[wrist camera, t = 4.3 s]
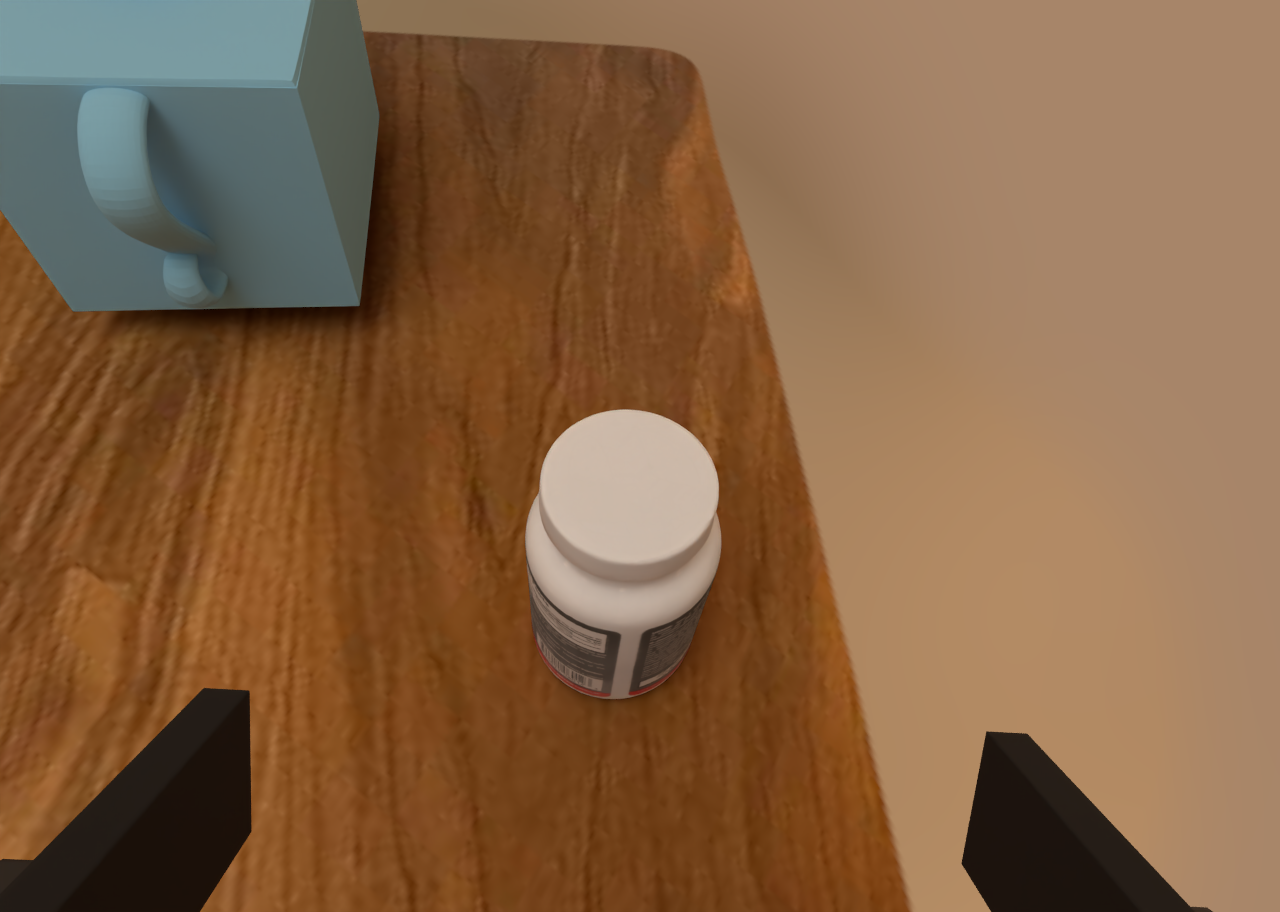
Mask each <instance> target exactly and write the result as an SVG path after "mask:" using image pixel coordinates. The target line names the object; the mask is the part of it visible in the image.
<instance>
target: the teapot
mask: <svg viewBox="0 0 1280 912" xmlns="http://www.w3.org/2000/svg"><path fill="white" fill-rule="evenodd" d="M378 126H379V110H378V105H377V100H376V95H375V90H374V85H373V80H372V75H371V71H370V66H369V61H368V56H367V51H366V46H365V41H364V36H363V31H362V26H361V21H360V16H359V11H358V6H357V1H356V0H0V210H1V211H2V213H3V214H4V216H5V217H6V218H7V220H8V221H9V223H10V224H11V225H12V227H13V228H14V230H15V231H16V232H17V234H18V235H19V237H20V238H21V239H22V241H23V242H24V244H25V245H26V246H27V248H28V249H29V251H30V252H31V253H32V255H33V256H34V258H35V259H36V260H37V262H38V263H39V265H40V266H41V267H42V269H43V270H44V272H45V273H46V274H47V276H48V277H49V279H50V280H51V281H52V283H53V284H54V286H55V287H56V288H57V290H58V291H59V293H60V294H61V295H62V297H63V298H64V300H65V301H66V302H67V304H68V305H69V307H70V308H71V309H72V311H124V310H171V309H227V308H276V307H331V306H360V299H361V290H362V280H363V271H364V262H365V252H366V243H367V233H368V224H369V215H370V205H371V195H372V186H373V176H374V166H375V156H376V146H377V136H378Z"/></svg>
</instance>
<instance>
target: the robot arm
mask: <svg viewBox="0 0 1280 912" xmlns="http://www.w3.org/2000/svg"><path fill="white" fill-rule="evenodd" d="M250 833H251V766H250V694H249V691H246V690H228V689H210V688H204V689H203V690H202V691H201V692H200V693H199V694H198V695H197V696H196V697H195V698H194V699H193V700H192V701H191V702H190V703H189V704H188V705H187V706H186V707H185V708H184V709H183V710H182V711H181V712H180V713H179V714H178V715H177V716H176V717H175V718H174V719H173V720H172V721H171V722H170V723H169V724H168V725H167V726H166V727H165V728H164V729H163V730H162V731H161V732H160V733H159V734H158V735H157V736H156V737H155V738H154V739H153V740H152V741H151V742H150V743H149V744H148V745H147V746H146V747H145V748H144V749H143V750H142V751H141V752H140V753H139V754H138V755H137V756H136V757H135V758H134V759H133V760H132V761H131V762H130V763H129V764H128V765H127V766H126V767H125V768H124V769H123V770H122V771H121V772H120V773H119V774H118V775H117V776H116V777H115V778H114V779H113V780H112V781H111V782H110V783H109V784H108V785H107V786H106V787H105V788H104V789H103V790H102V792H101V793H100V794H99V795H98V796H97V797H96V798H95V799H94V800H93V801H92V802H91V803H90V804H89V805H88V806H87V807H86V808H85V809H84V810H83V811H82V812H81V813H80V814H79V815H78V816H77V817H76V818H75V819H74V820H73V821H72V822H71V823H70V824H69V825H68V826H67V827H66V828H65V829H64V830H63V831H62V832H61V833H60V834H59V835H58V836H57V837H56V838H55V839H54V840H53V841H52V842H51V843H50V844H49V845H48V846H47V847H46V848H45V849H44V850H43V851H42V852H41V853H40V854H39V855H38V856H37V857H36V858H35V859H34V860H14V859H2V860H0V912H200V910H201V909H202V907H203V906H204V904H205V903H206V901H207V900H208V898H209V897H210V895H211V893H212V892H213V890H214V889H215V887H216V886H217V884H218V883H219V881H220V879H221V878H222V876H223V875H224V873H225V872H226V870H227V869H228V867H229V865H230V864H231V862H232V861H233V859H234V858H235V856H236V855H237V853H238V852H239V850H240V848H241V847H242V845H243V844H244V842H245V841H246V839H247V838H248V836H249V834H250ZM962 865H963V867H964V868H965V870H966V871H967V873H968V875H969V876H970V878H971V880H972V881H973V883H974V885H975V886H976V888H977V889H978V891H979V893H980V894H981V896H982V898H983V899H984V901H985V902H986V904H987V906H988V907H989V909H990V910H991V912H1212V911H1211V910H1210V909H1208V908H1204V907H1190V906H1189V905H1188V904H1187V903H1186V902H1185V901H1184V900H1183V899H1182V898H1181V897H1180V896H1179V894H1178V893H1177V892H1176V891H1175V890H1174V889H1173V888H1172V887H1171V886H1170V885H1169V884H1168V883H1167V882H1166V881H1165V880H1164V879H1163V878H1162V877H1161V875H1160V874H1159V873H1158V872H1157V871H1156V870H1155V869H1154V868H1153V867H1152V866H1151V865H1150V864H1149V863H1148V862H1147V861H1146V859H1145V858H1144V857H1143V856H1142V855H1141V854H1140V853H1139V852H1138V851H1137V850H1136V849H1135V848H1134V847H1133V846H1132V845H1131V844H1130V842H1128V840H1127V839H1126V838H1125V837H1124V836H1123V835H1122V834H1121V833H1120V832H1119V831H1118V830H1117V829H1116V828H1115V827H1114V826H1113V824H1111V822H1110V821H1109V820H1108V819H1107V818H1106V817H1105V816H1104V815H1103V814H1102V813H1101V812H1100V811H1099V810H1098V809H1097V807H1096V806H1095V805H1094V804H1093V803H1092V802H1091V801H1090V800H1089V799H1088V798H1087V797H1086V796H1085V795H1084V794H1083V793H1082V792H1081V790H1080V789H1079V788H1078V787H1077V786H1076V785H1075V784H1074V783H1073V782H1072V781H1071V780H1070V779H1069V778H1068V777H1067V776H1066V775H1065V773H1064V772H1063V771H1062V770H1061V769H1060V768H1059V767H1058V766H1057V765H1056V764H1055V763H1054V762H1053V761H1052V760H1051V759H1050V758H1049V757H1048V755H1046V754H1045V752H1044V751H1043V750H1041V748H1040V747H1039V746H1038V745H1037V744H1036V743H1035V742H1034V741H1033V740H1032V738H1031V737H1030V736H1029V735H1028V734H1022V733H1003V732H986V737H985V742H984V747H983V753H982V758H981V763H980V769H979V774H978V779H977V785H976V790H975V795H974V800H973V806H972V811H971V816H970V821H969V827H968V833H967V837H966V843H965V848H964V854H963V859H962Z"/></svg>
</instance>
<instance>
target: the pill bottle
mask: <svg viewBox="0 0 1280 912" xmlns="http://www.w3.org/2000/svg"><path fill="white" fill-rule="evenodd" d="M718 500H719V483H718V477H717V473H716V469H715V467H714V464H713V461H712V459H711V457H710V456H709V454H708V452H707V451H706V449H705V448H704V447H703V445H702V444H701V443H700V441H699V440H698V439H697V438H696V437H695V436H694V435H693V434H692V433H690V432H689V431H688V430H686V429H685V428H683V427H682V426H680V425H679V424H677V423H675V422H673V421H672V420H670V419H667V418H665V417H663V416H660V415H657V414H653V413H649V412H645V411H638V410H613V411H607V412H602V413H598V414H595V415H592V416H590V417H587V418H585V419H583V420H581V421H579V422H577V423H576V424H574V425H572V426H571V427H570V428H568V429H567V430H566V431H565V432H564V433H563V434H562V435H561V436H560V437H559V438H558V439H557V440H556V441H555V443H554V444H553V445H552V447H551V448H550V450H549V452H548V454H547V456H546V458H545V460H544V463H543V466H542V471H541V476H540V490H539V493H538V495H537V497H536V498H535V500H534V502H533V505H532V507H531V510H530V512H529V516H528V520H527V526H526V538H525V546H526V560H527V571H528V580H529V592H530V604H531V615H532V627H533V633H534V639H535V642H536V645H537V648H538V650H539V653H540V655H541V657H542V658H543V660H544V662H545V663H546V665H547V666H548V667H549V669H550V670H551V671H552V672H553V674H554V675H555V676H556V677H558V678H559V679H560V680H561V681H562V682H563V683H565V684H566V685H568V686H569V687H571V688H573V689H574V690H576V691H578V692H581V693H583V694H586V695H589V696H593V697H598V698H603V699H624V698H630V697H634V696H637V695H641V694H643V693H646V692H648V691H650V690H652V689H654V688H655V687H657V686H659V685H660V684H662V683H663V682H664V681H665V680H667V679H668V678H669V677H670V676H671V675H672V674H673V673H674V672H675V670H676V669H677V668H678V667H679V665H680V664H681V662H682V661H683V659H684V657H685V655H686V654H687V652H688V649H689V647H690V645H691V641H692V638H693V635H694V632H695V630H696V627H697V624H698V621H699V619H700V616H701V613H702V610H703V608H704V605H705V602H706V599H707V596H708V594H709V591H710V588H711V586H712V583H713V580H714V577H715V574H716V571H717V567H718V563H719V559H720V554H721V530H720V524H719V520H718V516H717V513H716V509H717V505H718Z"/></svg>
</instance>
